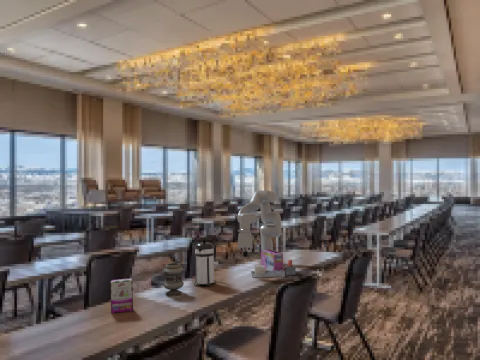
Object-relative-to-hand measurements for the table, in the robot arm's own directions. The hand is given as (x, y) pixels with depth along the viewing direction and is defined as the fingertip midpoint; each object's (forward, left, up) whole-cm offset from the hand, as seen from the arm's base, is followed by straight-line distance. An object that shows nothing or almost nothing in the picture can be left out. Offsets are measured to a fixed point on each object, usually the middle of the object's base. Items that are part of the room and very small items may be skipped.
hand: (245, 257), depth 281 cm
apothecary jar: (+40, -46, -14) cm, 62 cm away
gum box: (-21, +21, -14) cm, 33 cm away
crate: (0, +10, -14) cm, 17 cm away
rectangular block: (0, +16, -14) cm, 21 cm away
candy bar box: (+71, -69, -14) cm, 100 cm away
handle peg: (-3, +32, -14) cm, 35 cm away
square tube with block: (-6, +32, -14) cm, 35 cm away
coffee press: (+19, -28, -14) cm, 36 cm away
